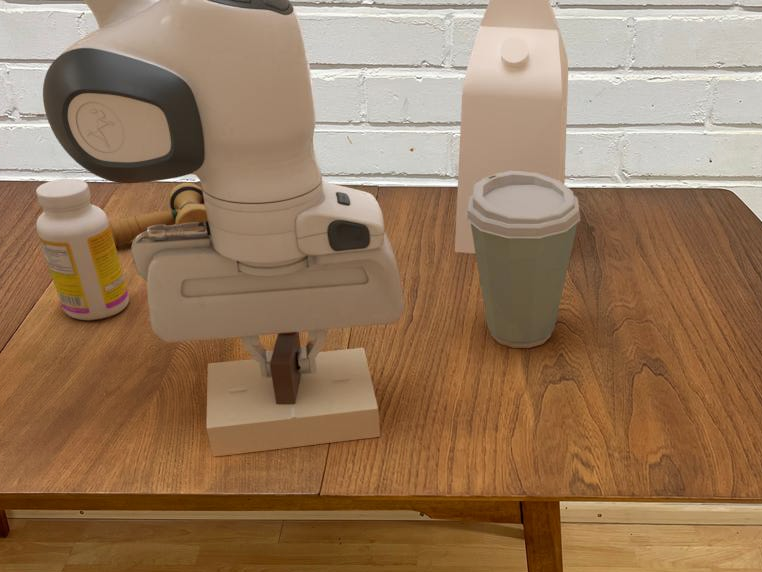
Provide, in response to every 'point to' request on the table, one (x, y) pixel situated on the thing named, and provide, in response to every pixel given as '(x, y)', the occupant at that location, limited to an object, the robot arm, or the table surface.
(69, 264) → the supplement bottle
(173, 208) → the kendama
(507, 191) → the disposable coffee cup
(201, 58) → the robot arm
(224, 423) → the panel
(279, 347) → the brown box red tab
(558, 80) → the milk
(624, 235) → the table surface
